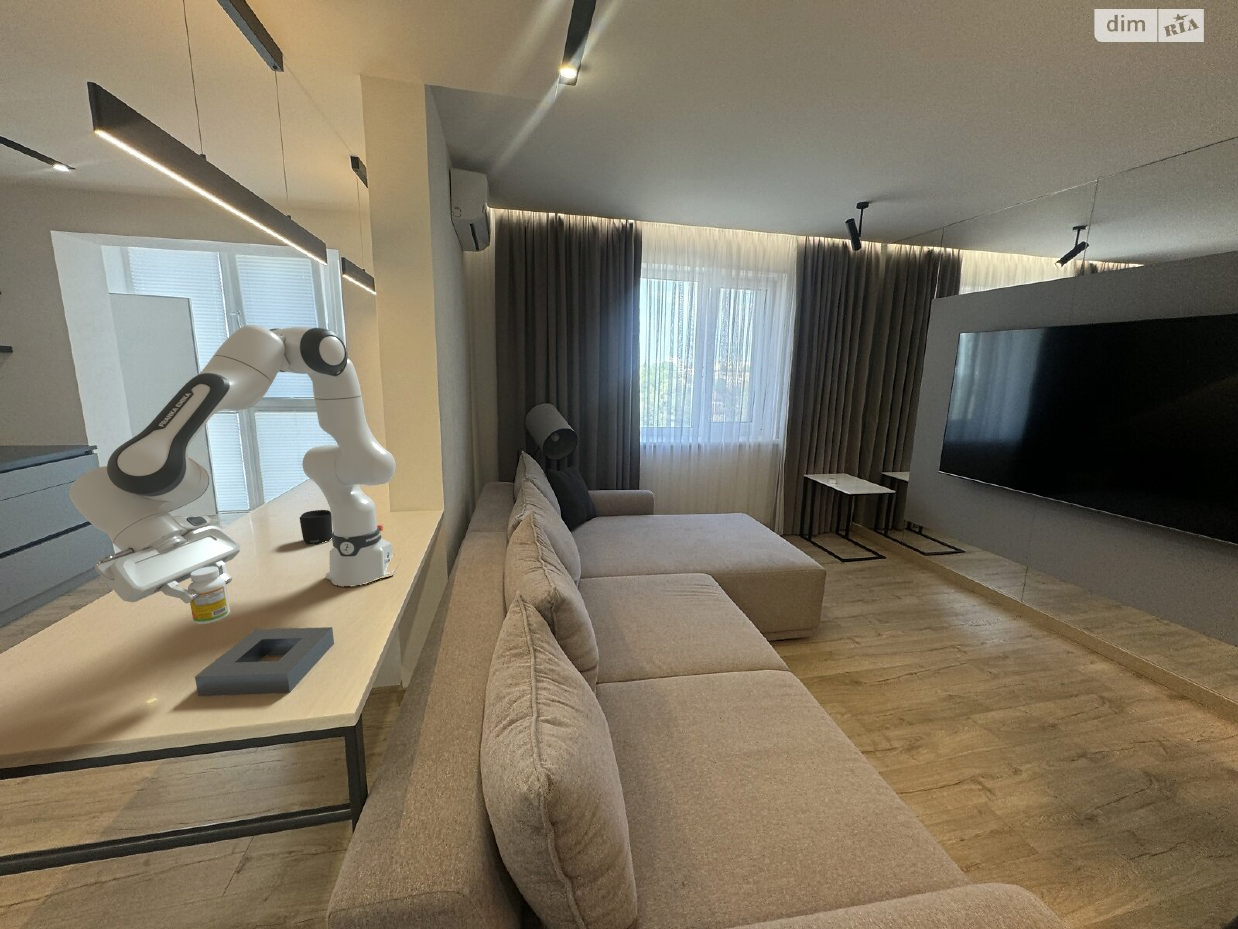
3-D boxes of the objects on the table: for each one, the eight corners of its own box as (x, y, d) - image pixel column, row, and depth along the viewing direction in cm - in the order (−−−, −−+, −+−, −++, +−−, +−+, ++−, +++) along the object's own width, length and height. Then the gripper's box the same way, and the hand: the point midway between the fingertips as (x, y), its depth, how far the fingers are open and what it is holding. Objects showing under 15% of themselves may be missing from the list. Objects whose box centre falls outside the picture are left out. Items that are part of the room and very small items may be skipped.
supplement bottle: (201, 612, 90) (193, 566, 88) (235, 608, 92) (227, 563, 90) (188, 627, 85) (178, 578, 83) (223, 621, 87) (215, 574, 85)
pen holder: (295, 543, 160) (292, 516, 158) (320, 534, 169) (317, 508, 167) (316, 546, 157) (313, 519, 155) (340, 538, 166) (337, 511, 164)
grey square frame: (257, 646, 100) (255, 629, 99) (334, 643, 102) (332, 627, 101) (198, 696, 85) (194, 676, 84) (289, 692, 86) (287, 673, 85)
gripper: (96, 550, 76) (161, 608, 77) (215, 513, 96) (264, 559, 97) (78, 574, 77) (142, 631, 78) (199, 532, 97) (248, 577, 98)
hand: (211, 591), depth 88 cm, fingers closed on supplement bottle, 5 cm apart
